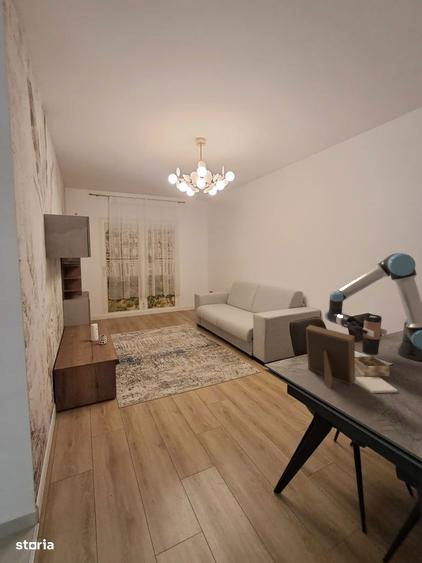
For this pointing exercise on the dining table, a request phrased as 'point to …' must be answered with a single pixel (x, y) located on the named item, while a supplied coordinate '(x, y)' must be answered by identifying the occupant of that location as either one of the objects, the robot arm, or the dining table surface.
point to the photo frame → (331, 354)
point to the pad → (376, 384)
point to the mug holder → (374, 370)
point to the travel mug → (370, 342)
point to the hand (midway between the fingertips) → (379, 333)
